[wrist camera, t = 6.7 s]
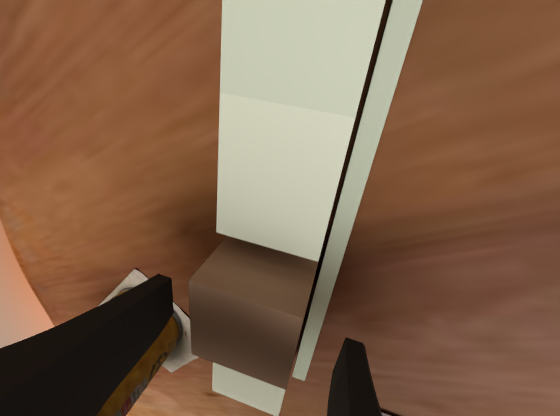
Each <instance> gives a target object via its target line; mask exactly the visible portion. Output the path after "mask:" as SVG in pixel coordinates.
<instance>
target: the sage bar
mask: <svg viewBox="0 0 560 416" xmlns="http://www.w3.org/2000/svg"><path fill="white" fill-rule="evenodd" d="M385 1H386V0H222V34H221V72H220V111H219V149H218V188H217V226H216V232H217V233H220V234H224V235H227V236H231V237H234V238H237V239H241V240H244V241H248V242H251V243H255V244H258V245H262V246H265V247H269V248H272V249H276V250H279V251H283V252H286V253H290V254H293V255H296V256H300V257H303V258H307V259H310V260H314V261H317V262H318V261H319V257H320V253H321V249H322V246H323V242H324V238H325V234H326V230H327V226H328V222H329V219H330V215H331V211H332V207H333V203H334V199H335V195H336V191H337V188H338V184H339V180H340V176H341V172H342V168H343V164H344V160H345V156H346V153H347V149H348V145H349V141H350V137H351V133H352V129H353V125H354V122H355V118H356V114H357V110H358V106H359V102H360V98H361V94H362V91H363V87H364V83H365V79H366V75H367V71H368V67H369V63H370V59H371V56H372V52H373V48H374V44H375V40H376V36H377V32H378V28H379V25H380V21H381V17H382V13H383V9H384V5H385ZM422 1H423V0H392V2H391V6H390V10H389V13H388V17H387V21H386V25H385V28H384V32H383V36H382V40H381V43H380V47H379V51H378V55H377V58H376V62H375V66H374V70H373V73H372V77H371V81H370V85H369V88H368V92H367V96H366V100H365V103H364V107H363V111H362V115H361V118H360V122H359V126H358V130H357V133H356V137H355V141H354V145H353V148H352V152H351V156H350V160H349V163H348V167H347V171H346V175H345V178H344V182H343V186H342V190H341V193H340V197H339V201H338V205H337V208H336V212H335V216H334V220H333V223H332V227H331V231H330V235H329V238H328V242H327V246H326V250H325V253H324V257H323V261H322V265H321V268H320V272H319V276H318V280H317V284H316V287H315V291H314V295H313V299H312V302H311V306H310V310H309V314H308V317H307V321H306V325H305V329H304V332H303V336H302V340H301V344H300V347H299V351H298V355H297V359H296V363H295V367H294V371H293V375H292V377H295V378H297V379H300V380H303V381H305V378H306V375H307V372H308V368H309V365H310V362H311V359H312V356H313V352H314V349H315V346H316V343H317V339H318V336H319V333H320V330H321V327H322V323H323V320H324V317H325V314H326V310H327V307H328V304H329V301H330V298H331V294H332V291H333V288H334V285H335V281H336V278H337V275H338V272H339V269H340V265H341V262H342V259H343V256H344V252H345V249H346V246H347V243H348V239H349V236H350V233H351V230H352V227H353V223H354V220H355V217H356V214H357V210H358V207H359V204H360V201H361V198H362V194H363V191H364V188H365V185H366V181H367V178H368V175H369V172H370V169H371V165H372V162H373V159H374V156H375V152H376V149H377V146H378V143H379V140H380V136H381V133H382V130H383V127H384V123H385V120H386V117H387V114H388V111H389V107H390V104H391V101H392V98H393V94H394V91H395V88H396V85H397V81H398V78H399V75H400V72H401V69H402V65H403V62H404V59H405V56H406V52H407V49H408V46H409V43H410V40H411V36H412V33H413V30H414V27H415V23H416V20H417V17H418V14H419V11H420V7H421V4H422ZM212 390H213V391H215V392H217V393H220V394H222V395H225V396H227V397H230V398H232V399H235V400H237V401H240V402H242V403H244V404H247V405H249V406H252V407H254V408H257V409H259V410H262V411H264V412H267V413H269V414H272V415H274V416H279V412H280V409H281V405H282V401H283V397H284V393H285V390H284V389H282V388H279V387H277V386H274V385H271V384H269V383H266V382H263V381H261V380H258V379H256V378H253V377H250V376H248V375H245V374H242V373H240V372H237V371H234V370H232V369H229V368H227V367H224V366H221V365H219V364H216V363H213V379H212Z"/></svg>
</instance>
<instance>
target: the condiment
mask: <svg viewBox="0 0 560 416" xmlns="http://www.w3.org/2000/svg"><path fill="white" fill-rule="evenodd" d="M146 280H148V278H147V277H145V276H144V275H143V274H142V273H141V272H139V271H137V270H135V269H134V270H133V271H132V272H131V273H130V274H129V275H128V276H127V277H126V278H125V280H124V281H123V282H122V283H121V284H120V285H119V286H118V287H117V288H116V289H115V290H114V291H113V292H112V293H111V294H110V295H109V296H108V297H107V298H106V299H105V300H104V301H103V302H102V303H101V304H100V305H102V304H103V303H105V302H107V301H109V300H111V299H113V298H115V297H117V296H119V295H121V294H122V293H124V292H126V291H128V290H130V289H132V288H133V287H135V286H137V285H139V284H141V283H143V282H144V281H146ZM100 305H99V306H100ZM173 309H174V313H173V315H172V317H171V318H170V320H169V321H168V323H167V325H166V326H165V328H164V329H163V331H162V332H161V334H160V335H159V337H158V338H157V339H156V340H155V342H154V343H153V344H152V345H151V347H150V348H149V349H148V350H147V352H146V353H145V354H144V355H143V356H142V358H141V359H140V360H139V361H138V363H137V364H136V365H135V366H134V367H133V369H132V370H131V371H130V372H129V374H128V375H127V376H126V377H125V378H124V380H123V381H122V382H121V383H120V385H119V386H118V387H117V388H116V390H115V391H114V392H113V393H112V395H111V396H110V397H109V399H108V400H107V401H106V403H105V404H104V406H103V407H102V409H101V410H100V411H99V413H98V414H97V416H126V415H127V413H128V412H129V411H130V409H131V408H132V406H133V405H134V403H135V402H136V401H137V399H138V398H139V397H140V395H141V394H142V392H143V391H144V390H145V389H146V388H147V386H148V384H149V382H150V381H151V379H152V378H153V377H154V375H155V374H156V373H157V372H158V370H159V368H160V367H161V366H163V367H165V368H166V369H167V370H169V371H170V372H171V373H172V372H173V371H175V370H177V369H178V368H180V367H181V366H183V365H185V364H187V363H189V362H190V361H192V360H194V359H196V358H198V356H195V355H192V354H191V333H190V319H189V317H188V316H186V315H185V314H184V313H183V312H182V311H181V309H180V308H179V307H178V306H177V305H176V304H175V303H174V302H173ZM184 332H186V334H185V333H184ZM186 335H187V336H188V338H186Z"/></svg>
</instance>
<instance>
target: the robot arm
mask: <svg viewBox="0 0 560 416" xmlns="http://www.w3.org/2000/svg"><path fill="white" fill-rule="evenodd" d="M173 313H174V309H173V294H172V280H171V278H169V277H166V276H163V275H160V274H158V275H156V276H154V277H152V278H150V279H148V280H146V281H144V282H143V283H141V284H139V285H137V286H135V287H133V288H132V289H130V290H128V291H126V292H124V293H122V294H121V295H119V296H117V297H115V298H113V299H111V300H109V301H107V302H105V303H103V304H102V305H100V306H98V307H96V308H94V309H92V310H89V311H87V312H85V313H83V314H81V315H79V316H77V317H75V318H73V319H71V320H69V321H67V322H65V323H62V324H60V325H58V326H56V327H53V328H51V329H49V330H46V331H44V332H42V333H39V334H37V335H35V336H32V337H30V338H27V339H24V340H22V341H19V342H17V343H14V344H12V345H8V346H6V347H3V348H0V416H97V414H98V413H99V411H100V410H101V409H102V407H103V406H104V404H105V403H106V401H107V400H108V399H109V397H110V396H111V395H112V393H113V392H114V391H115V390H116V388H117V387H118V386H119V385H120V383H121V382H122V381H123V380H124V378H125V377H126V376H127V375H128V374H129V372H130V371H131V370H132V369H133V367H134V366H135V365H136V364H137V363H138V361H139V360H140V359H141V358H142V356H143V355H144V354H145V353H146V352H147V350H148V349H149V348H150V347H151V345H152V344H153V343H154V342H155V340H156V339H157V338H158V337H159V335H160V334H161V332H162V331H163V329H164V328H165V326H166V325H167V323H168V321H169V320H170V318H171V317H172V315H173ZM327 416H391V415H388V414H385V413H383V412H381V409H380V406H379V403H378V399H377V396H376V392H375V389H374V385H373V381H372V377H371V373H370V369H369V364H368V360H367V355H366V349H365V346H364V344H363V343H361V342H358V341H355V340H352V339H349V338H345V341H344V343H343V346H342V349H341V351H340V354H339V356H338V359H337V362H336V364H335V367H334V369H333V374H332V380H331V386H330V392H329V399H328V410H327Z"/></svg>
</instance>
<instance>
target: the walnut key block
mask: <svg viewBox="0 0 560 416" xmlns="http://www.w3.org/2000/svg"><path fill="white" fill-rule="evenodd" d="M317 265H318V262H317V261H314V260H310V259H307V258H303V257H300V256H296V255H293V254H290V253H286V252H283V251H279V250H276V249H272V248H269V247H265V246H262V245H258V244H255V243H251V242H248V241H244V240H241V239H237V238H234V237H231V236H226V237H225V239H224V240H223V241H222V242H221V243H220V244H219V246H218V247H217V248H216V249H215V250H214V251H213V253H212V254H211V255H210V256H209V257H208V258H207V260H206V261H205V262H204V263H203V264H202V265H201V267H200V268H199V269H198V270H197V271H196V272H195V274H194V275H193V276H192V277H191V278H190V279H189V281H188V288H189V311H190V333H191V354H192V355H195V356H198V357H200V358H203V359H206V360H208V361H211V362H213V363H216V364H219V365H221V366H224V367H227V368H229V369H232V370H234V371H237V372H240V373H242V374H245V375H248V376H250V377H253V378H256V379H258V380H261V381H263V382H266V383H269V384H271V385H274V386H277V387H279V388H282V389H284V390H286V387H287V383H288V379H289V375H290V371H291V367H292V363H293V360H294V356H295V352H296V348H297V344H298V340H299V336H300V332H301V328H302V324H303V321H304V317H305V313H306V309H307V305H308V301H309V297H310V293H311V289H312V285H313V281H314V277H315V273H316V269H317Z"/></svg>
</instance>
